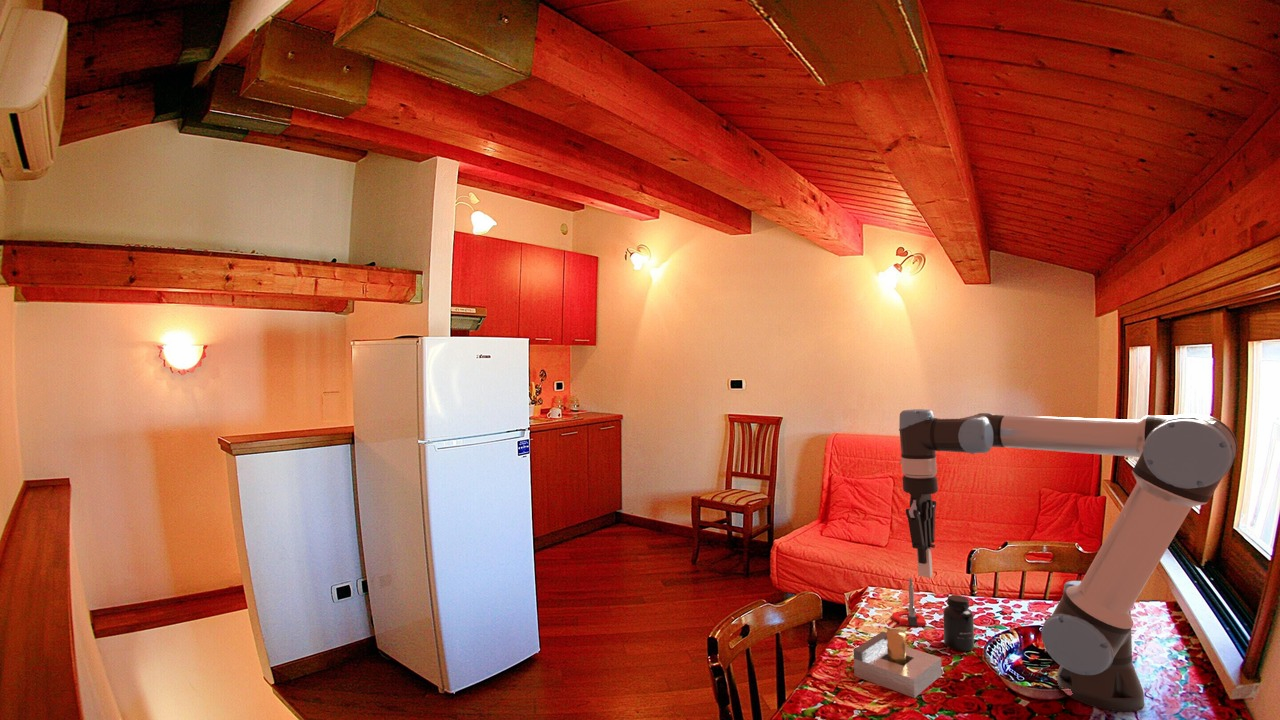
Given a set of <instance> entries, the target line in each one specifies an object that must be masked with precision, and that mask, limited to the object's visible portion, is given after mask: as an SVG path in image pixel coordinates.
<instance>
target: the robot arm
mask: <svg viewBox="0 0 1280 720" xmlns="http://www.w3.org/2000/svg"><path fill="white" fill-rule="evenodd" d="M898 418H899V421H898V422H899V425H898V426H899V427H898V431H899V441H900V453H901V454H900V455H901V456H900V457H901V458H900V460H899V464H900V465H901V472H902V474H903V476H902V489H903V492H905V493H906V494H909V495H910V498H909V507H910V508H906V509H905V515H906V517H907V522H908V528H909V534H910V539H911V544H912V545H911V546H912V549H916V554H917V555H916V556H917V573H918V577H923V578H927V579H928V578H929V579H931V578H932V577H933V560H932V548H933V549H934V548H936V544H934V543H935V538H936V537H935V536H936V535H935V534H936V533H935V532H936V530H935V529H936V528H935V527H936V509H937V501H936V500H932V495H933V494H934V495H935V494H937V492H938V491H939V489H938V487H939V486H938V478H937V476H936V475H937V474H938V469H937V465H938V464H937V456H936V452H949V453H950V452H953V453H967V454H968V453H969V454H971V455H974V454H986V453H988V452H990V451H991V449H992V448H1009V449H1010V448H1011V449H1023V450H1024V449H1025V450H1034V451H1035V450H1037V451H1048V452H1049V451H1051V452H1053V451H1054V452H1062V453H1063V452H1065V453H1077V454H1094V455H1104V456H1115V457H1116V456H1119V457H1133V458H1138V460H1137V461H1136V463H1135V465H1134V467H1133V468H1132V470H1131V473H1132V475H1133V477H1134V480H1135V481H1136V483H1135V485H1134V487H1133V489H1132V490H1131V493H1130V494H1129V496H1128V497H1127V500H1126V501H1125V503H1124V505H1123V506H1122V509H1121V511H1120V513H1119V514H1118V515H1117V517H1116V519H1115V521H1114V523H1113V525H1112V527H1111V529H1110V530H1109V532H1108V534H1107V536H1106V537H1105V539H1104V541H1103V542H1102V545H1101V546H1100V548H1099V549H1098V552H1097V554H1096V555H1095V557H1094V559H1093V560H1092V563H1091V564H1090V565H1089V568H1088V569H1087V571H1086V573H1085V575H1084V577H1083V578H1082V580H1070V581H1066V582H1065V583H1064V585H1063V586H1064V587H1063V591H1062V593H1063V594H1062V597H1061V599H1060V600H1059V601H1058V603H1057V605H1056V607H1055V609H1054V611H1053V613H1052V614H1051V615H1050V616H1049V617H1048V618H1046V620H1045V621H1044V622H1043V625H1042V629H1041V640H1042V641H1041V642H1042V644H1043V645H1044V648H1045V650H1046V652H1047V653H1048V655H1049V656H1050V657H1051V659H1052V660H1053V661H1055V663H1057V664H1058V665H1059V668H1058V670H1057V673H1056V674H1057V675H1056V676H1057V683H1058V684H1057V686H1060V687H1066V688H1069V689H1071V691H1072V693H1073V694H1072V695H1071V696H1070V697H1069V698H1071V699H1073V700H1075V701H1077V702H1080V703H1082V704H1084V705H1087V706H1091V707H1093V708H1098V709H1101V710H1105V711H1106V710H1108V711H1113V712H1114V711H1115V712H1132V711H1133V712H1134V711H1137V710H1140V709H1141V708H1143V707H1144V705H1145V693H1144V689H1143V686H1142V685H1141V681H1140V678H1139V676H1138V674H1137V671H1136V669H1135V666H1134V663H1133V645H1132V644H1133V643H1132V641H1133V640H1132V628H1133V627H1134V625H1135V624H1134V620H1133V617H1132V614H1131V613H1132V608H1133V606H1134V605H1135V603H1136V601H1137V599H1138V598H1139V596H1140V595H1141V593H1142V591H1143V590H1144V588H1145V587H1146V584H1147V583H1148V581H1149V579H1150V578H1151V576H1152V574H1154V573H1153V572H1154V571H1155V569H1156V568H1157V566H1158V564H1159V563H1160V561H1161V559H1162V558H1163V556H1164V555H1165V553H1166V552H1167V549H1168V548H1169V547H1170V545H1171V543H1172V541H1173V540H1174V538H1175V536H1176V534H1177V532H1178V531H1179V529H1180V528H1181V526H1182V524H1183V523H1184V521H1185V519H1186V518H1187V516H1188V514H1189V513H1190V511H1191V509H1192V508H1193V507H1198V506H1202V505H1203V506H1204V505H1207V504H1208V503H1209V501H1210V500H1211V499H1212V496H1213V494H1214V493H1215V491H1216V490H1217V488H1218V486H1219V484H1220V483H1221V481H1222V480H1223V478H1224V477H1225V476H1226V475H1227V474H1228V473H1229V471H1230V469H1231V467H1232V465H1233V463H1234V461H1235V458H1236V457H1237V454H1238V441H1237V438H1236V436H1235V434H1234V432H1233V431H1232V430H1231V428H1230V427H1229V426H1227V424H1226V423H1224V422H1223V421H1221V420H1219V419H1218V418H1215V417H1213V416H1210V415H1207V414H1201V413H1183V414H1173V415H1150V414H1149V415H1145V416H1143V417H1142V418H1141V419H1122V418H1121V419H1118V418H1093V417H1092V418H1090V417H1088V418H1086V417H1085V418H1084V417H1066V416H1065V417H1061V416H1059V417H1058V416H1038V415H1037V416H1036V415H1033V416H1032V415H1011V414H1010V415H1009V414H1008V415H1007V414H1006V415H1002V414H993V413H989V412H987V413H986V412H982V413H981V412H980V413H977V414H974V415H970V416H965V417H961V418H937V417H935V415H934V411H933V410H930V409H924V408H923V409H920V408H919V409H904V410H902V411H901V412H900V413H899V417H898Z"/></svg>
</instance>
